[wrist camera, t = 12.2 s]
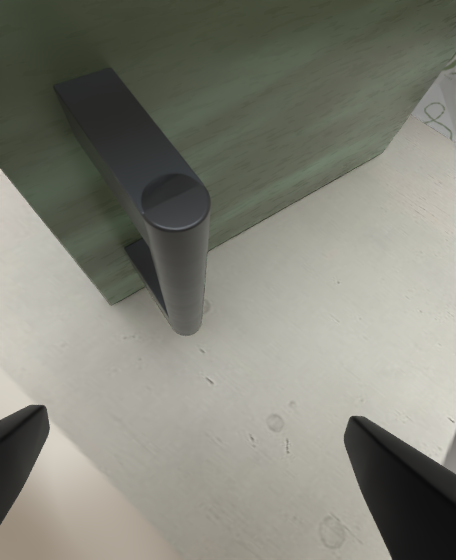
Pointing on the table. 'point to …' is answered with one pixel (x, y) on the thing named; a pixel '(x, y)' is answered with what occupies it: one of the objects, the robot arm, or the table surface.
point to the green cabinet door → (198, 120)
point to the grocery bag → (440, 103)
